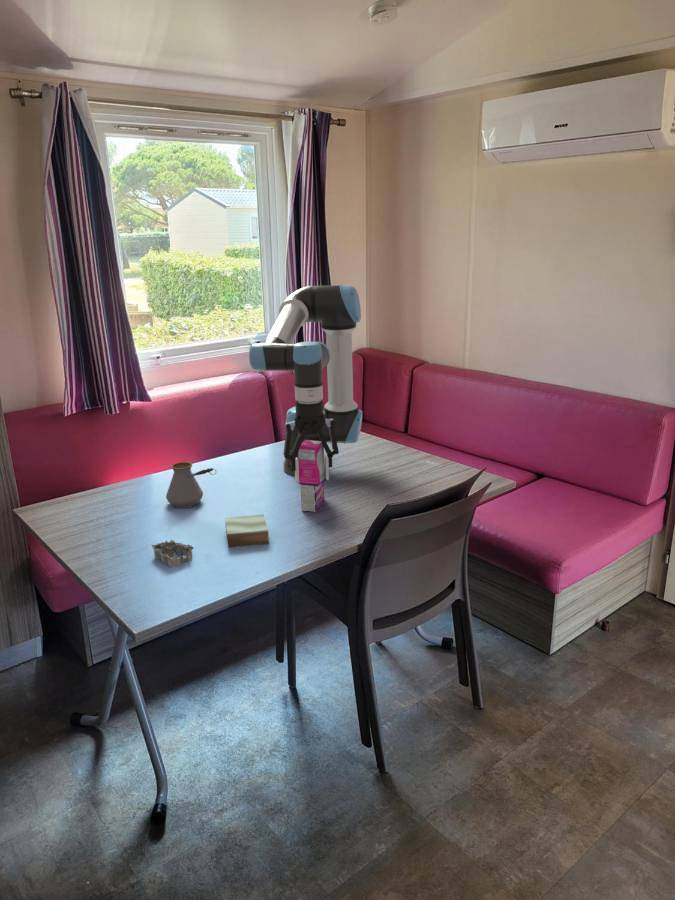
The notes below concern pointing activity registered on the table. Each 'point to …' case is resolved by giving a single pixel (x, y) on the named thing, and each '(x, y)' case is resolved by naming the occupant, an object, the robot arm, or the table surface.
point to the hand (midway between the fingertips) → (312, 479)
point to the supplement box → (311, 463)
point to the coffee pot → (184, 486)
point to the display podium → (246, 530)
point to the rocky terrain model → (172, 553)
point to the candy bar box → (312, 497)
